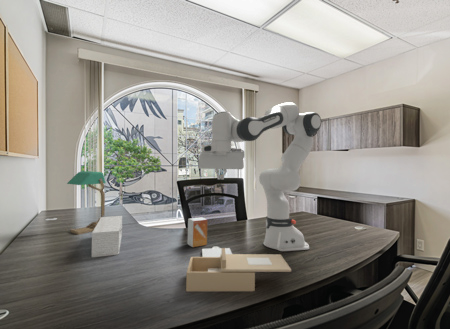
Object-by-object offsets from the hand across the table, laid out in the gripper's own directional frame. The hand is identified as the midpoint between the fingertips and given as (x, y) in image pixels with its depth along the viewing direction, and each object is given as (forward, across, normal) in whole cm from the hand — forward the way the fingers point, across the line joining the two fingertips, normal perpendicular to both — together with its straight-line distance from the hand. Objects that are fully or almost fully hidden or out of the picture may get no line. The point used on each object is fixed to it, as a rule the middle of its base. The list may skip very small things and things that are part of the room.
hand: (220, 179), depth 106 cm
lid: (+28, -11, +23) cm, 38 cm away
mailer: (+34, 0, +23) cm, 41 cm away
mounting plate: (+35, +1, +1) cm, 35 cm away
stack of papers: (+35, +55, -15) cm, 67 cm away
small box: (+34, +11, -15) cm, 39 cm away
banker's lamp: (+34, +77, -40) cm, 93 cm away
